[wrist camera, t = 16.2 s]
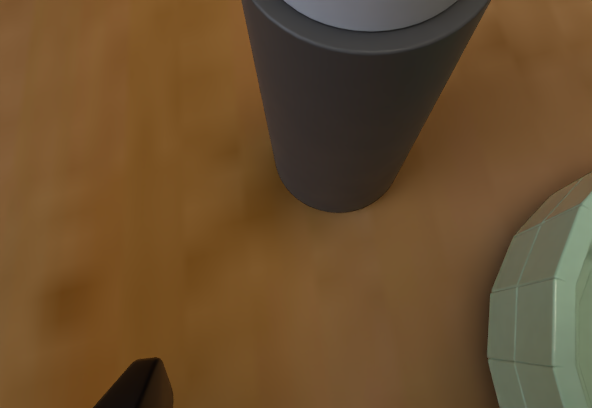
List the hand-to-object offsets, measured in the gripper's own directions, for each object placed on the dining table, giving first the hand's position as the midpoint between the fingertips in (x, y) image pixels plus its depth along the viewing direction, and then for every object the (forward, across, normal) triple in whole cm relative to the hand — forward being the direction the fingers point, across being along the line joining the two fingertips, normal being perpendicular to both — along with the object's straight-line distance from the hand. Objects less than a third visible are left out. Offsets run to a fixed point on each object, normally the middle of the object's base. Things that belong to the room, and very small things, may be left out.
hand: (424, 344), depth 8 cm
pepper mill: (+11, 0, +1) cm, 11 cm away
